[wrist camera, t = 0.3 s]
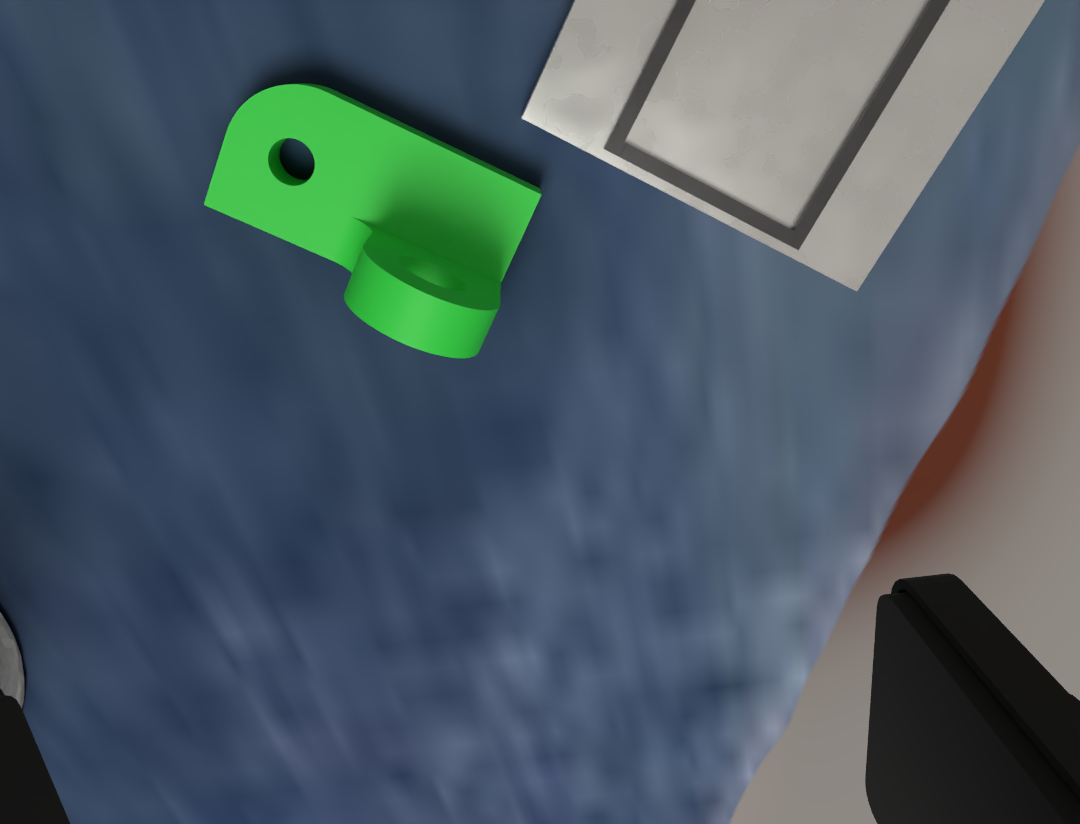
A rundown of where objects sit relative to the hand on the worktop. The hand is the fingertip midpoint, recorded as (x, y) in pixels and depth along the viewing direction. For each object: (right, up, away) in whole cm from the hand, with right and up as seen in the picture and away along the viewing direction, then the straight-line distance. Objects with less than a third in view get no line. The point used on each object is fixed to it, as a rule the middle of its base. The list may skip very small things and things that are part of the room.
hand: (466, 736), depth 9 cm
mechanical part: (-6, +13, +26) cm, 29 cm away
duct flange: (+11, +19, +23) cm, 32 cm away
